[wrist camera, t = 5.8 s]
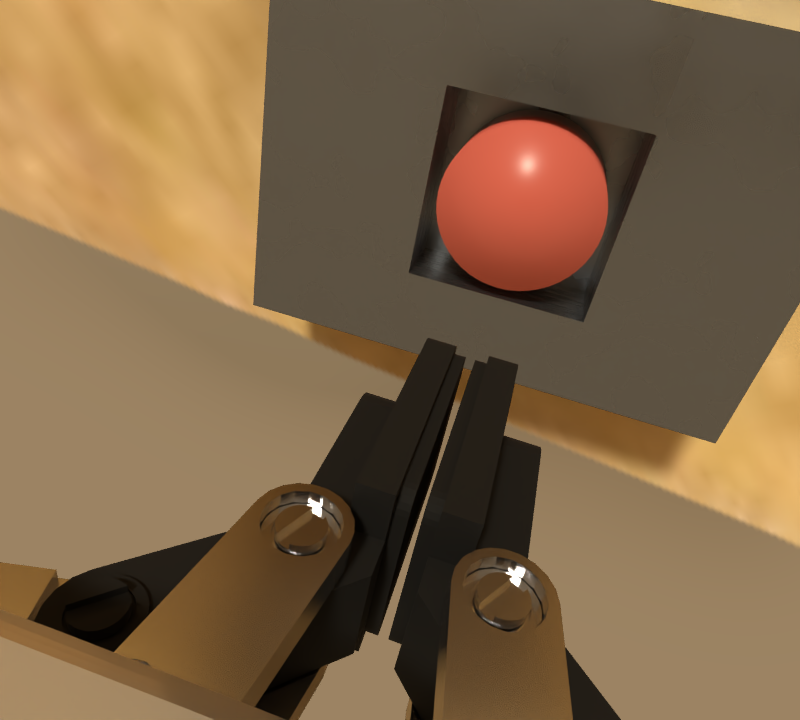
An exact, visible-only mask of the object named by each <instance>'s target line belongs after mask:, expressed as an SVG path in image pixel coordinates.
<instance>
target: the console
mask: <svg viewBox="0 0 800 720" xmlns="http://www.w3.org/2000/svg"><path fill="white" fill-rule="evenodd" d="M521 110H543V111H549V112H553V113H556V114H559V115H561V116H564V117H566V118H568V119H570V120H571V121H573V122H574V123H576V124H577V125H579V126H580V127H581V128H582V129H583V130H584V131H585V132H586V133H587V134H588V135H589V136H590V137H591V139H592V140H593V141H594V143H595V144H596V146H597V148H598V149H599V151H600V154H601V156H602V159H603V162H604V166H605V169H606V177H607V192H608V215H607V222H606V226H605V229H604V233H603V236H602V238H601V240H600V242H599V245H598V246H597V248H596V249H595V251H594V253H593V254H592V256H591V257H590V258H589V259H588V260H587V262H586V263H585V264H584V265H583V266H582V267H581V268H580V269H579V270H577V271H576V272H575V273H573V274H572V275H571V276H569V277H568V278H566V279H564V280H562V281H560V282H559V283H556V284H554V285H551V286H549V287H545V288H541V289H536V290H530V291H513V290H505V289H500V288H496V287H493V286H491V285H488V284H485V283H483V282H481V281H479V280H477V279H476V278H474V277H473V276H471V275H470V274H469V273H467V272H466V271H465V270H464V269H463V268H461V266H460V265H459V264H458V263H457V262H456V261H455V260H454V259H453V257H452V256H451V254H450V253H449V252H448V250H447V248H446V246H445V244H444V242H443V240H442V237H441V234H440V231H439V227H438V223H437V214H436V206H437V196H438V190H439V187H440V183H441V180H442V178H443V176H444V173H445V171H446V169H447V168H448V166H449V164H450V163H451V161H452V160H453V159H454V157H455V156H456V155H457V154H458V152H459V151H460V150H461V149H462V148H463V147H464V145H465V144H466V143H467V142H468V141H469V140H470V138H471V137H472V136H473V135H474V134H475V133H476V132H477V131H478V130H479V129H480V128H482V127H483V126H484V125H486V124H487V123H489V122H490V121H492V120H494V119H496V118H497V117H500V116H502V115H505V114H507V113H511V112H515V111H521ZM799 303H800V32H798V31H793V30H788V29H784V28H779V27H774V26H770V25H765V24H760V23H755V22H751V21H746V20H741V19H736V18H732V17H727V16H722V15H718V14H713V13H708V12H703V11H699V10H694V9H689V8H684V7H680V6H675V5H670V4H666V3H661V2H656V1H651V0H270V7H269V25H268V44H267V62H266V81H265V99H264V118H263V136H262V155H261V173H260V192H259V210H258V229H257V247H256V266H255V284H254V302H253V305H256V306H259V307H262V308H266V309H269V310H272V311H276V312H279V313H282V314H286V315H289V316H292V317H296V318H299V319H302V320H306V321H309V322H312V323H316V324H319V325H322V326H326V327H329V328H332V329H336V330H339V331H342V332H346V333H349V334H352V335H356V336H359V337H362V338H366V339H369V340H372V341H376V342H379V343H382V344H386V345H389V346H392V347H396V348H399V349H402V350H406V351H409V352H412V353H416V354H420V352H421V350H422V348H423V346H424V344H425V342H426V340H427V338H431V339H434V340H438V341H441V342H444V343H448V344H451V345H455V346H457V349H456V353H455V354H457V355H460V356H464V357H466V359H465V363H464V367H463V368H466V369H469V370H472V368H473V365H474V362H475V360H477V361H480V362H484V363H487V361H488V358H489V356H492V357H495V358H498V359H502V360H505V361H508V362H512V363H515V364H518V370H517V375H516V379H515V383H516V384H519V385H522V386H526V387H529V388H532V389H536V390H539V391H542V392H546V393H549V394H552V395H556V396H559V397H562V398H566V399H569V400H572V401H576V402H579V403H582V404H586V405H589V406H592V407H596V408H599V409H602V410H606V411H609V412H612V413H616V414H619V415H622V416H626V417H629V418H632V419H636V420H639V421H642V422H646V423H649V424H652V425H656V426H659V427H662V428H666V429H669V430H672V431H676V432H679V433H682V434H686V435H689V436H692V437H696V438H699V439H702V440H706V441H709V442H712V443H716V442H717V440H718V438H719V437H720V435H721V433H722V432H723V430H724V428H725V427H726V425H727V423H728V422H729V420H730V418H731V417H732V415H733V413H734V412H735V410H736V408H737V407H738V405H739V403H740V402H741V400H742V398H743V397H744V395H745V393H746V392H747V390H748V388H749V387H750V385H751V383H752V382H753V380H754V378H755V377H756V375H757V373H758V372H759V370H760V368H761V367H762V365H763V363H764V362H765V360H766V358H767V357H768V355H769V353H770V352H771V350H772V348H773V347H774V345H775V343H776V342H777V340H778V338H779V337H780V335H781V333H782V332H783V330H784V328H785V327H786V325H787V323H788V322H789V320H790V318H791V317H792V315H793V313H794V312H795V310H796V308H797V307H798V305H799Z"/></svg>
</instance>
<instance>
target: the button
mask: <svg viewBox="0 0 800 720" xmlns="http://www.w3.org/2000/svg"><path fill="white" fill-rule="evenodd" d="M436 214H437V223H438V227H439V231H440V234H441V237H442V240H443V242H444V244H445V246H446V248H447V250H448V252H449V253H450V254H451V256H452V257H453V259H454V260H455V261H456V262H457V263H458V264H459V265H460V266H461V268H463V269H464V270H465V271H466V272H467V273H469V274H470V275H471V276H473V277H474V278H476V279H477V280H479V281H481V282H483V283H485V284H488V285H491V286H493V287H496V288H500V289H505V290H513V291H530V290H536V289H541V288H545V287H549V286H551V285H554V284H556V283H559V282H560V281H562V280H564V279H566V278H568V277H569V276H571V275H572V274H573V273H575V272H576V271H577V270H579V269H580V268H581V267H582V266H583V265H584V264H585V263H586V262H587V260H588V259H589V258H590V257H591V256H592V254H593V253H594V251H595V249H596V248H597V246H598V245H599V242H600V240H601V238H602V236H603V233H604V229H605V226H606V222H607V215H608V192H607V177H606V169H605V166H604V162H603V159H602V156H601V154H600V151H599V149H598V148H597V146H596V144H595V143H594V141H593V140H592V139H591V137H590V136H589V135H588V134H587V133H586V132H585V131H584V130H583V129H582V128H581V127H580V126H579V125H577V124H576V123H574V122H573V121H571V120H570V119H568V118H566V117H564V116H561V115H559V114H556V113H553V112H549V111H543V110H521V111H515V112H511V113H507V114H505V115H502V116H500V117H497V118H496V119H494V120H492V121H490V122H489V123H487V124H486V125H484V126H483V127H482V128H480V129H479V130H478V131H477V132H476V133H475V134H474V135H473V136H472V137H471V138H470V140H469V141H468V142H467V143H466V144H465V145H464V147H463V148H462V149H461V150H460V151H459V152H458V154H457V155H456V156H455V157H454V159H453V160H452V161H451V163H450V164H449V166H448V168H447V169H446V171H445V173H444V176H443V178H442V180H441V183H440V187H439V190H438V196H437V206H436Z"/></svg>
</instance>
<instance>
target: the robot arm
mask: <svg viewBox="0 0 800 720" xmlns="http://www.w3.org/2000/svg"><path fill="white" fill-rule="evenodd" d="M456 349H457V346H455V345H451V344H448V343H444V342H441V341H438V340H434V339H431V338H427V340H426V342H425V344H424V346H423V348H422V350H421V352H420V354H419V356H418V358H417V360H416V362H415V364H414V366H413V368H412V370H411V372H410V374H409V376H408V378H407V380H406V382H405V384H404V387H403V388H402V390H401V392H400V394H399V396H398V398H397V400H396V402H395V401H392V400H389V399H385V398H382V397H379V396H376V395H373V394H369V393H365V394H364V395H363V396H362V398H361V399H360V401H359V403H358V404H357V406H356V408H355V409H354V411H353V413H352V414H351V416H350V418H349V419H348V421H347V423H346V425H345V426H344V428H343V430H342V432H341V433H340V435H339V436H338V438H337V440H336V442H335V443H334V445H333V447H332V448H331V450H330V452H329V453H328V455H327V457H326V459H325V460H324V462H323V464H322V465H321V467H320V469H319V471H318V472H317V474H316V476H315V477H314V479H313V481H312V482H311V484H301V483H296V484H289V485H283V486H280V487H278V488H275V489H273V490H270V491H268V492H267V493H266V494H264V495H263V496H262V497H260V498H259V499H258V500H257V501H256V502H255V503H254V504H253V505H252V506H251V507H250V508H249V509H248V510H247V511H246V513H245V514H244V515H243V516H242V517H241V518H240V519H239V520H238V521H237V522H236V523H235V524H234V525H233V526H232V527H231V528H230V530H229V531H228V532H224V533H221V534H217V535H213V536H210V537H207V538H203V539H199V540H196V541H192V542H189V543H185V544H181V545H178V546H174V547H171V548H167V549H164V550H160V551H157V552H153V553H149V554H146V555H142V556H139V557H135V558H132V559H128V560H124V561H121V562H118V563H114V564H110V565H107V566H103V567H100V568H96V569H92V570H90V571H87V572H85V573H82V574H80V575H78V576H75V577H73V578H71V579H62V578H58V576H57V571H56V570H53V569H46V568H39V567H31V566H23V565H16V564H9V563H2V562H0V720H298V719H299V718H300V716H301V714H302V713H303V711H304V709H305V707H306V706H307V704H308V702H309V701H310V699H311V697H312V696H313V694H314V692H315V691H316V689H317V687H318V685H319V684H320V682H321V680H322V679H323V676H324V674H325V671H326V669H327V666H328V664H330V663H332V662H334V661H337V660H339V659H341V658H344V657H346V656H349V655H351V654H353V653H354V650H356V651H359V648H360V646H361V643H362V640H363V637H364V634H365V632H366V631H367V632H370V633H373V634H375V635H378V634H379V631H380V628H381V626H382V623H383V620H384V617H385V614H386V610H387V608H388V605H389V602H390V599H391V596H392V593H393V591H394V587H395V585H396V582H397V579H398V576H399V573H400V570H401V567H402V564H403V561H404V559H405V556H406V553H407V550H408V547H409V544H410V541H411V538H412V535H413V532H414V529H415V527H416V524H417V521H418V518H419V515H420V512H421V509H422V506H423V503H424V500H425V497H426V494H427V491H428V489H429V486H430V483H431V479H432V476H433V473H434V470H435V466H436V463H437V459H438V456H439V452H440V448H441V445H442V442H443V438H444V434H445V431H446V427H447V424H448V420H449V417H450V413H451V410H452V406H453V402H454V399H455V395H456V392H457V388H458V385H459V381H460V377H461V374H462V370H463V367H464V363H465V359H466V357H464V356H460V355H457V354H455V353H456ZM517 370H518V364H515V363H512V362H508V361H505V360H502V359H498V358H495V357H492V356H489V358H488V361H487V363H484V362H480V361H477V360H475V362H474V365H473V368H472V371H471V374H470V377H469V380H468V383H467V386H466V389H465V392H464V395H463V398H462V401H461V404H460V407H459V410H458V413H457V416H456V419H455V422H454V425H453V427H452V430H451V434H450V436H449V439H448V442H447V445H446V448H445V451H444V454H443V457H442V460H441V463H440V466H439V469H438V472H437V475H436V478H435V481H434V484H433V487H432V490H431V493H430V496H429V499H428V503H427V506H426V509H425V512H424V516H423V519H422V522H421V526H420V529H419V533H418V537H417V540H416V543H415V547H414V550H413V554H412V558H411V562H410V565H409V568H408V572H407V575H406V579H405V582H404V586H403V589H402V593H401V596H400V600H399V603H398V607H397V611H396V614H395V618H394V621H393V625H392V628H391V632H390V636H389V640H392V641H395V642H397V643H400V644H402V645H401V648H400V651H399V655H398V658H397V661H396V664H395V668H394V669H395V671H396V673H397V675H398V677H399V679H400V681H401V683H402V684H403V686H404V688H405V690H406V692H407V694H408V696H409V697H410V699H409V702H408V706H407V710H406V718H405V720H621V719H620V718H619V717H618V715H617V714H616V713H615V712H614V710H613V709H612V708H611V706H610V705H609V704H608V702H607V701H606V700H605V698H604V697H603V696H602V694H601V693H600V692H599V691H598V689H597V688H596V687H595V685H594V684H593V683H592V681H591V680H590V679H589V677H588V676H587V675H586V674H585V672H584V671H583V670H582V668H581V667H580V666H579V664H578V663H577V662H576V661H575V659H574V658H573V657H572V655H571V654H570V653H569V651H568V650H567V649H566V648H565V643H564V634H563V625H562V616H561V608H560V602H559V599H558V595H557V592H556V589H555V587H554V586H553V584H552V582H551V581H550V579H549V577H548V576H547V575H546V574H545V573H544V572H543V571H542V570H541V569H540V568H539V567H538V566H537V565H536V564H535V563H533V562H532V561H530V560H529V559H528V553H529V545H530V537H531V529H532V521H533V513H534V505H535V497H536V488H537V481H538V472H539V465H540V457H541V448H540V447H538V446H535V445H532V444H529V443H526V442H522V441H519V440H516V439H513V438H510V437H507V436H503V435H504V430H505V426H506V421H507V416H508V412H509V407H510V403H511V398H512V393H513V389H514V384H515V379H516V375H517Z"/></svg>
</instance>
